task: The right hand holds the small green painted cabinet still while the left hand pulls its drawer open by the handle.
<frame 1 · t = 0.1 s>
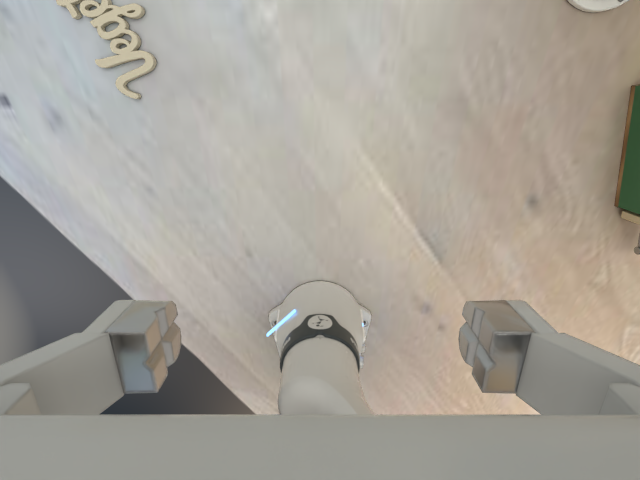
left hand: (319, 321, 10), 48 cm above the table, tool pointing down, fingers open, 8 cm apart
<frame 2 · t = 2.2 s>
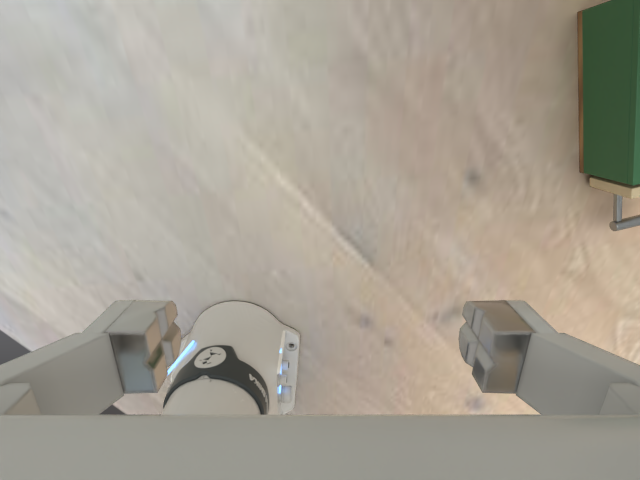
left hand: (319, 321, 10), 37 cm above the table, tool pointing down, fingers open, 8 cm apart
cabinet: (605, 90, 42), on the table
drawer: (632, 135, 40), point 4 cm above the table, slide at 0.7 cm
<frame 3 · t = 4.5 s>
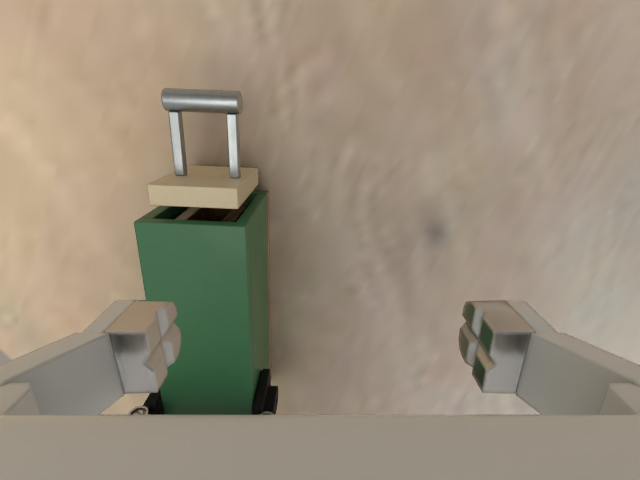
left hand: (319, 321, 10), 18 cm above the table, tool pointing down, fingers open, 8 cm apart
cabinet: (233, 294, 31), on the table, touching right hand
drawer: (216, 262, 25), point 4 cm above the table, slide at 0.7 cm
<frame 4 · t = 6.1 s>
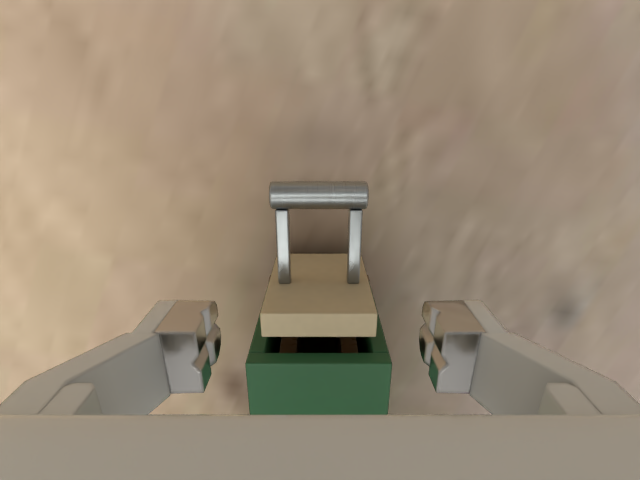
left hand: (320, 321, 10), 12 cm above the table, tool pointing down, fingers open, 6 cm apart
cabinet: (319, 388, 26), on the table, touching right hand
drawer: (318, 374, 20), point 4 cm above the table, slide at 0.7 cm
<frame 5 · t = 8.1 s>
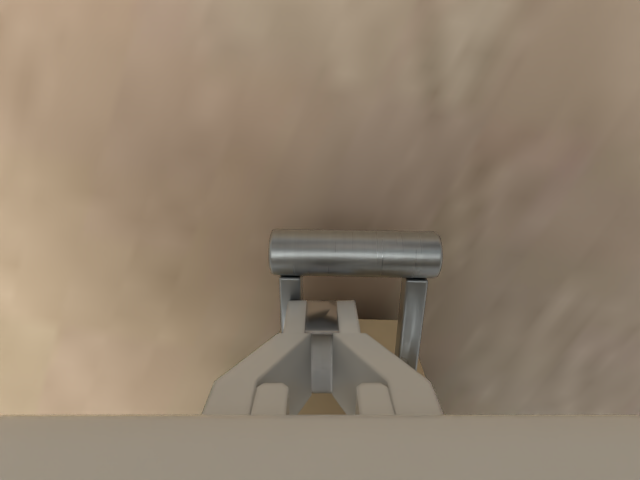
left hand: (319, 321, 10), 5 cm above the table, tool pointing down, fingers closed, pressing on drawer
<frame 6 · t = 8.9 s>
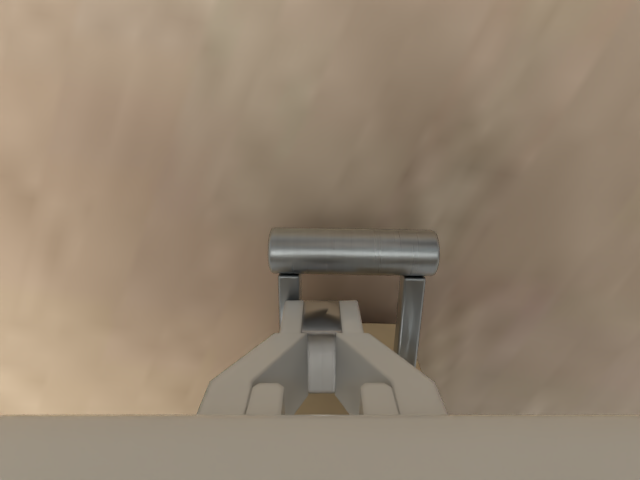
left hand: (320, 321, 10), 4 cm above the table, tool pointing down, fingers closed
when the right hand's fingers open (5 cm above the table, at t = 10.7 s): cabinet stays where it is, on the table.
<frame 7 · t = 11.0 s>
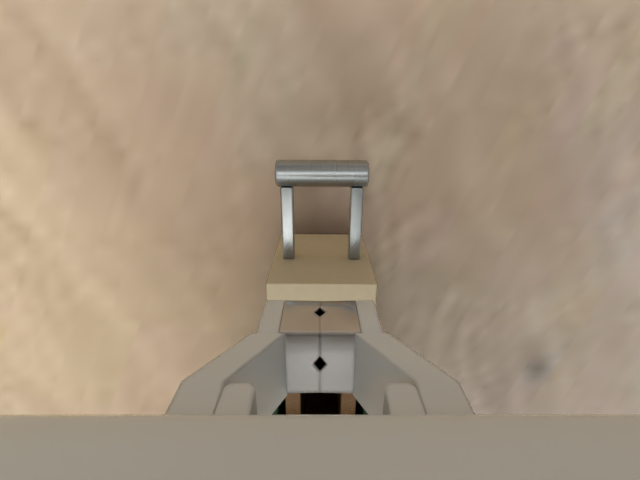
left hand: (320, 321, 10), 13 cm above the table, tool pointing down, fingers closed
drawer: (320, 349, 21), point 4 cm above the table, slide at 7.2 cm
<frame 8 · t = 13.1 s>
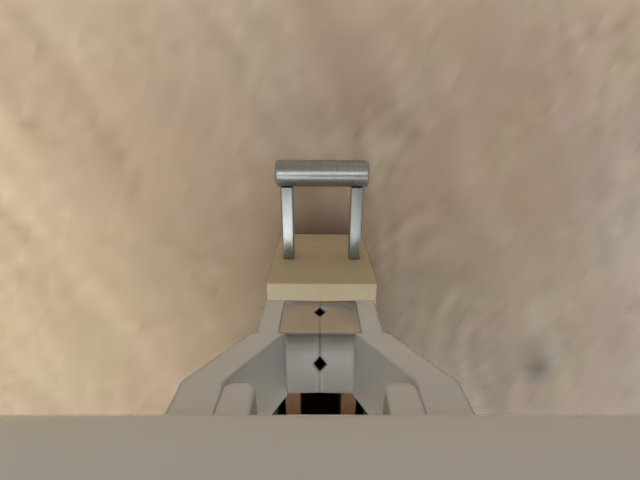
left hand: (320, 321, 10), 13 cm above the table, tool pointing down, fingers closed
drawer: (320, 349, 21), point 4 cm above the table, slide at 7.2 cm
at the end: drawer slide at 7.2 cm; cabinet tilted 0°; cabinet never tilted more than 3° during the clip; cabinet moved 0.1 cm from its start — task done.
